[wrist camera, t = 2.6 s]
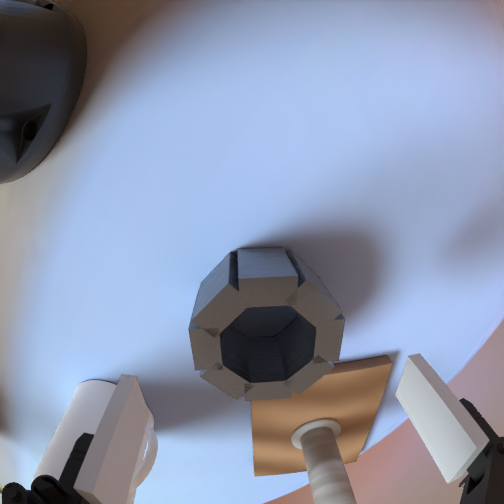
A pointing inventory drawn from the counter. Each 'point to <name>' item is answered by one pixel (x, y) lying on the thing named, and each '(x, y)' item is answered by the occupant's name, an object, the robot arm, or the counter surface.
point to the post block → (321, 427)
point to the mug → (87, 420)
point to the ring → (264, 348)
